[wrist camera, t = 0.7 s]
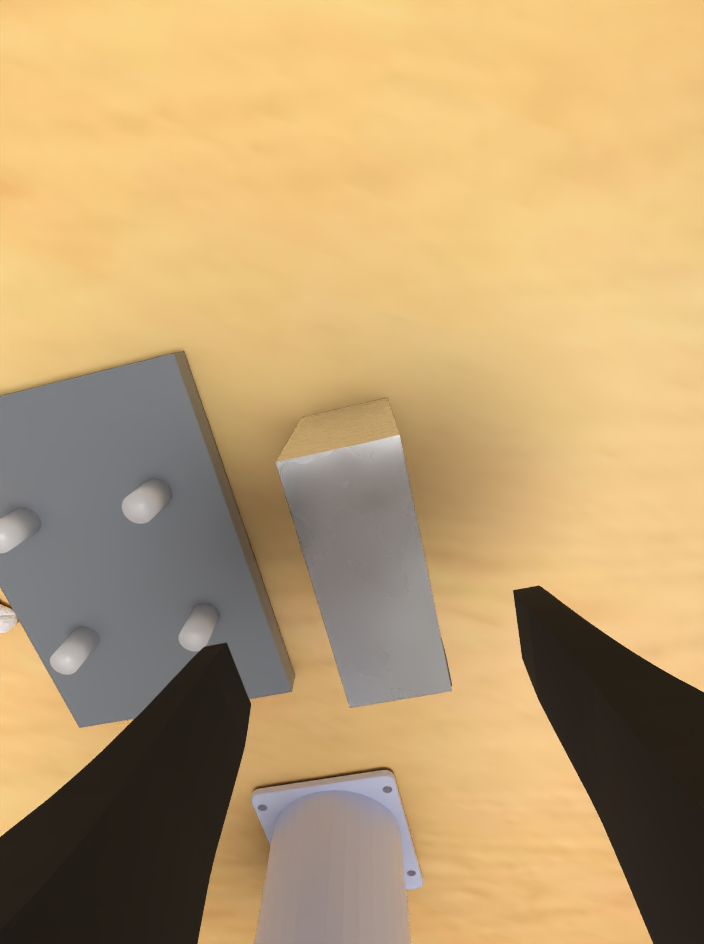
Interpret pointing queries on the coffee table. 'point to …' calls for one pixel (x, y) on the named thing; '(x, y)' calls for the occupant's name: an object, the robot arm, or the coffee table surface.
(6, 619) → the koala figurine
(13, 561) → the pin tray
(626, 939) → the coffee table surface
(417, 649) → the block
